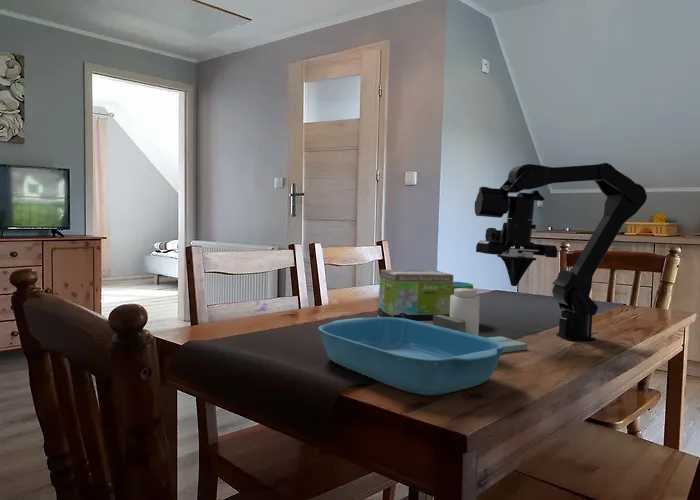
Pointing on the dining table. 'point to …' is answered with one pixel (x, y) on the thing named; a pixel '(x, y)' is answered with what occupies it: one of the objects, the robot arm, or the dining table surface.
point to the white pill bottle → (466, 308)
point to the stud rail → (507, 343)
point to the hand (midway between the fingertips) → (513, 285)
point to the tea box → (414, 294)
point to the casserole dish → (411, 353)
